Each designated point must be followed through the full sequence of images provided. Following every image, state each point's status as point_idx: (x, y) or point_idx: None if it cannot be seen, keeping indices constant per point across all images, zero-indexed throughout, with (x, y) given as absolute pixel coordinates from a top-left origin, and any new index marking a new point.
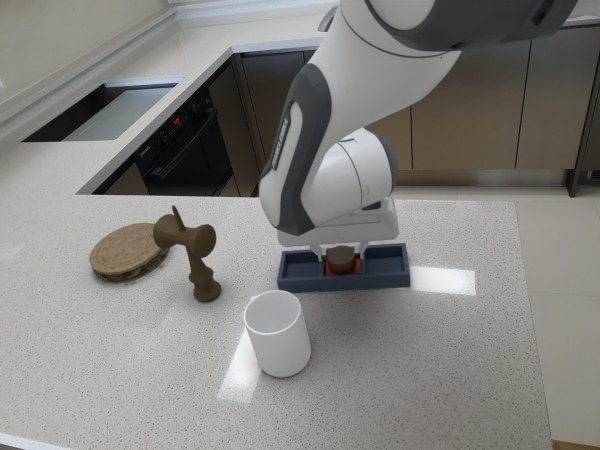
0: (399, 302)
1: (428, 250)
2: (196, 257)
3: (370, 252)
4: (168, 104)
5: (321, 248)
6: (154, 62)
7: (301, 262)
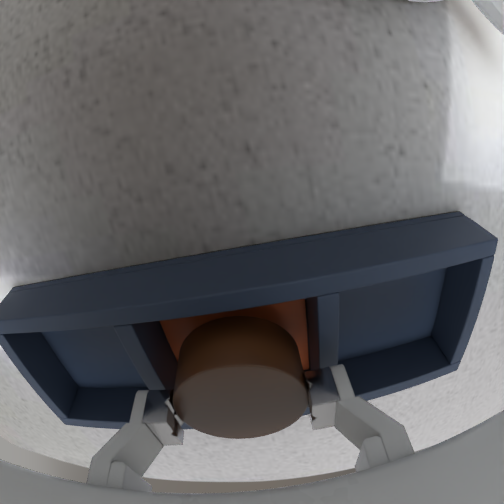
0: (12, 219)
1: None
2: None
3: None
4: None
5: (336, 426)
6: None
7: (392, 347)
